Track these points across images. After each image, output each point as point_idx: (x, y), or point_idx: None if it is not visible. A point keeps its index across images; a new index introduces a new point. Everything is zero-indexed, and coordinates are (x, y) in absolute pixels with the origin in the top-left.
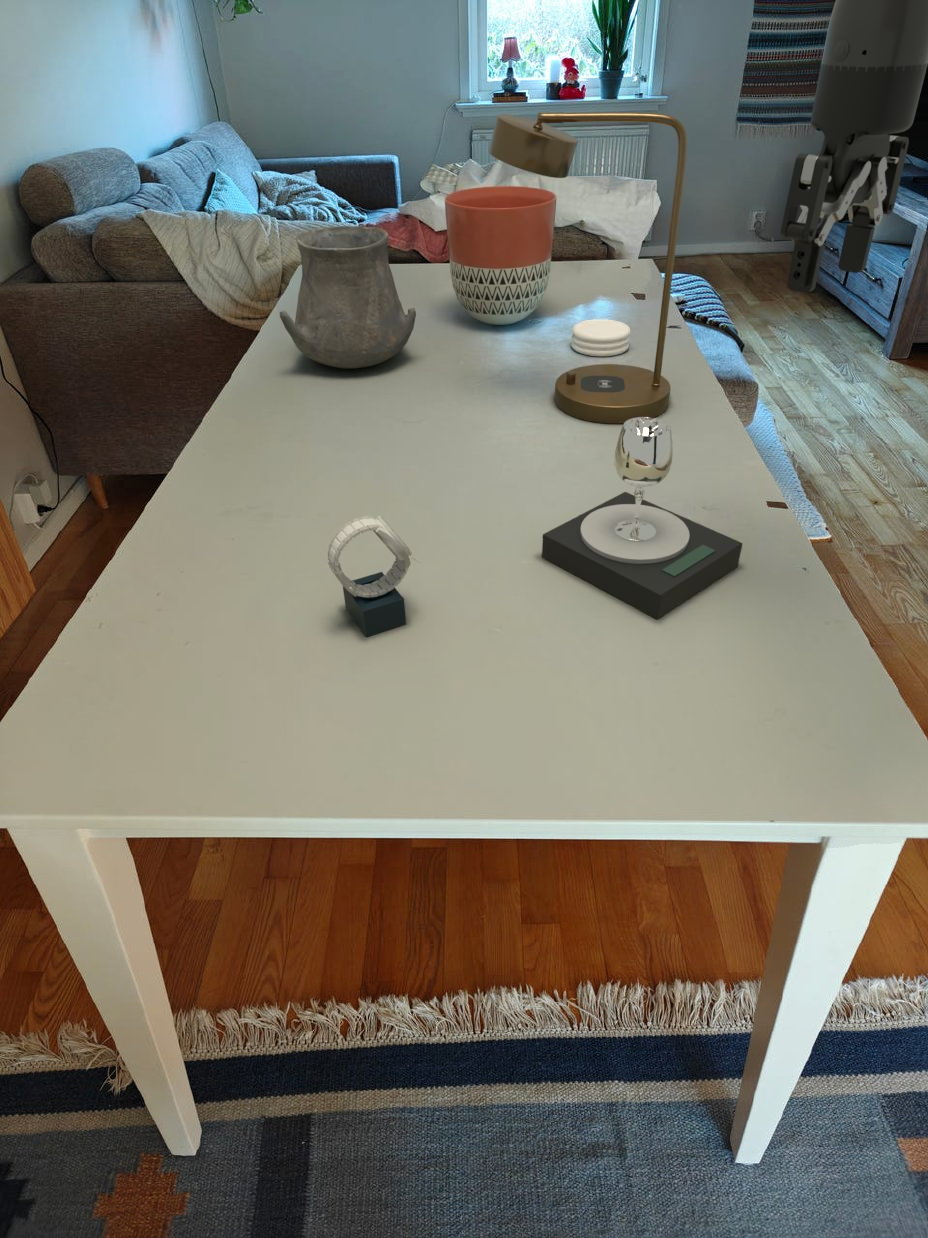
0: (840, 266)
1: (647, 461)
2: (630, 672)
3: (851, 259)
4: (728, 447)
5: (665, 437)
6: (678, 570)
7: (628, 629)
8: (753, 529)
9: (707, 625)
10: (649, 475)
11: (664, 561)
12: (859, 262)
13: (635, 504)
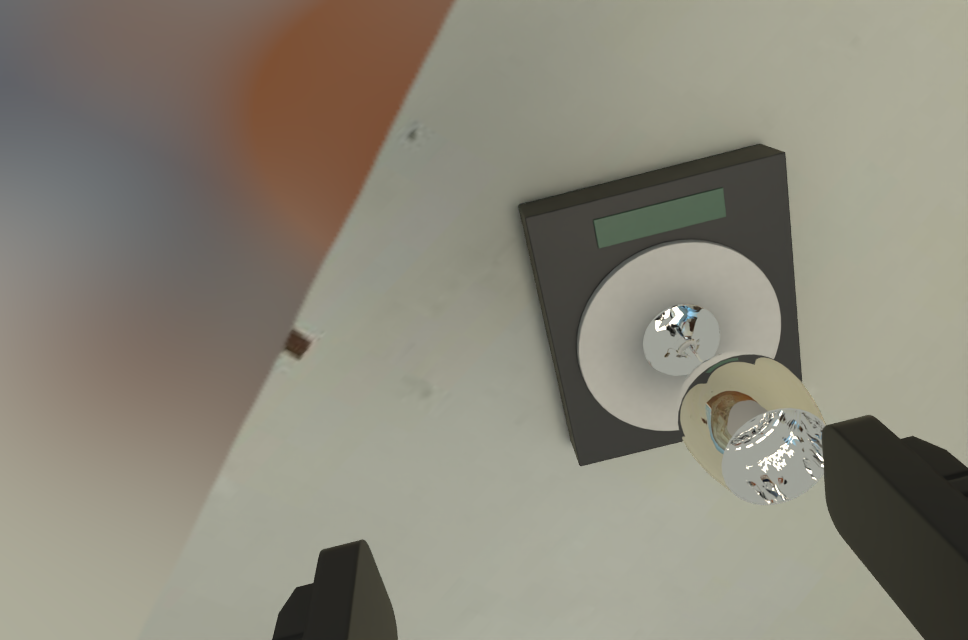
0: (395, 624)
1: (793, 377)
2: (904, 45)
3: (375, 622)
4: (220, 548)
5: (770, 402)
6: (703, 199)
7: (818, 146)
8: (397, 291)
9: (702, 84)
10: (771, 358)
11: (698, 238)
12: (361, 580)
13: (612, 413)
